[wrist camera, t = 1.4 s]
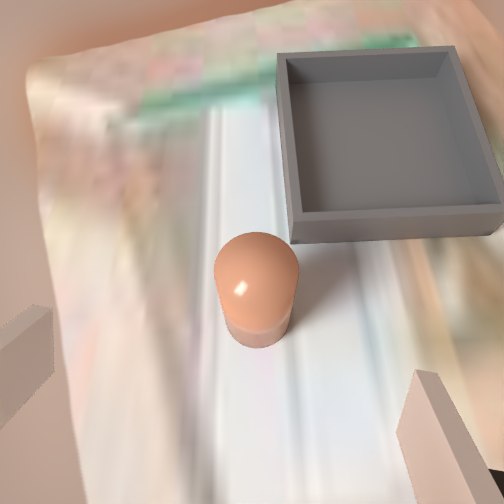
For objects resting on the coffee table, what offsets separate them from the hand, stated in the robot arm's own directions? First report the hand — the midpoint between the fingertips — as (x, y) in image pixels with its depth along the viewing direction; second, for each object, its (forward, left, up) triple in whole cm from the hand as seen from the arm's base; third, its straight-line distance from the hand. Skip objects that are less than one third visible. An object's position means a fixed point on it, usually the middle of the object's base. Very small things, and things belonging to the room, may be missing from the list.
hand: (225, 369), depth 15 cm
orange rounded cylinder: (-2, -10, -26) cm, 28 cm away
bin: (-17, -30, -26) cm, 43 cm away
